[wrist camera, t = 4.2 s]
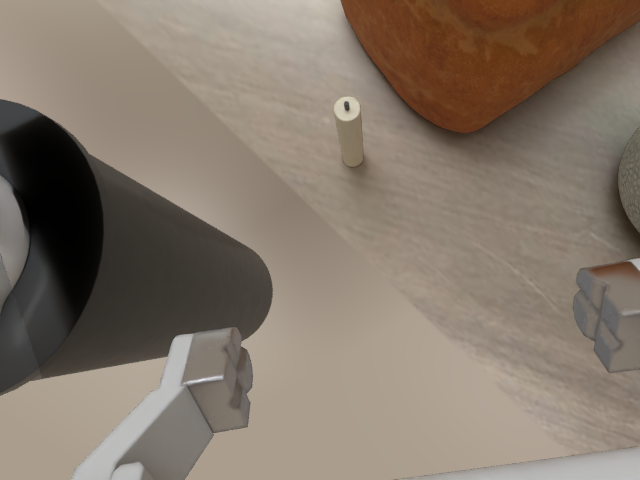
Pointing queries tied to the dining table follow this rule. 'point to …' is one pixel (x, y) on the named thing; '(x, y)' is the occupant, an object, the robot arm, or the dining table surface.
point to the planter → (631, 180)
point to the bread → (480, 49)
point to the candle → (349, 130)
